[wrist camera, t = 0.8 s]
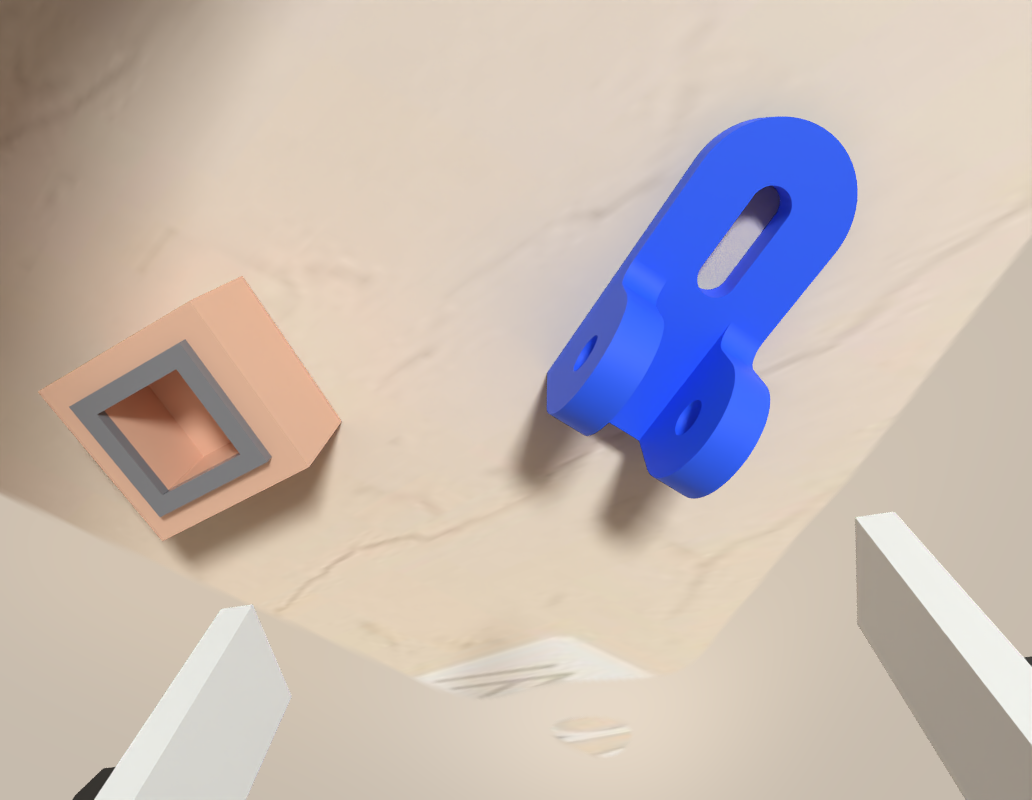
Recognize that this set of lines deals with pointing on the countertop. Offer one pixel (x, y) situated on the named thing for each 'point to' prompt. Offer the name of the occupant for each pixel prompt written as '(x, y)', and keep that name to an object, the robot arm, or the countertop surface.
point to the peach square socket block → (197, 409)
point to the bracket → (706, 304)
